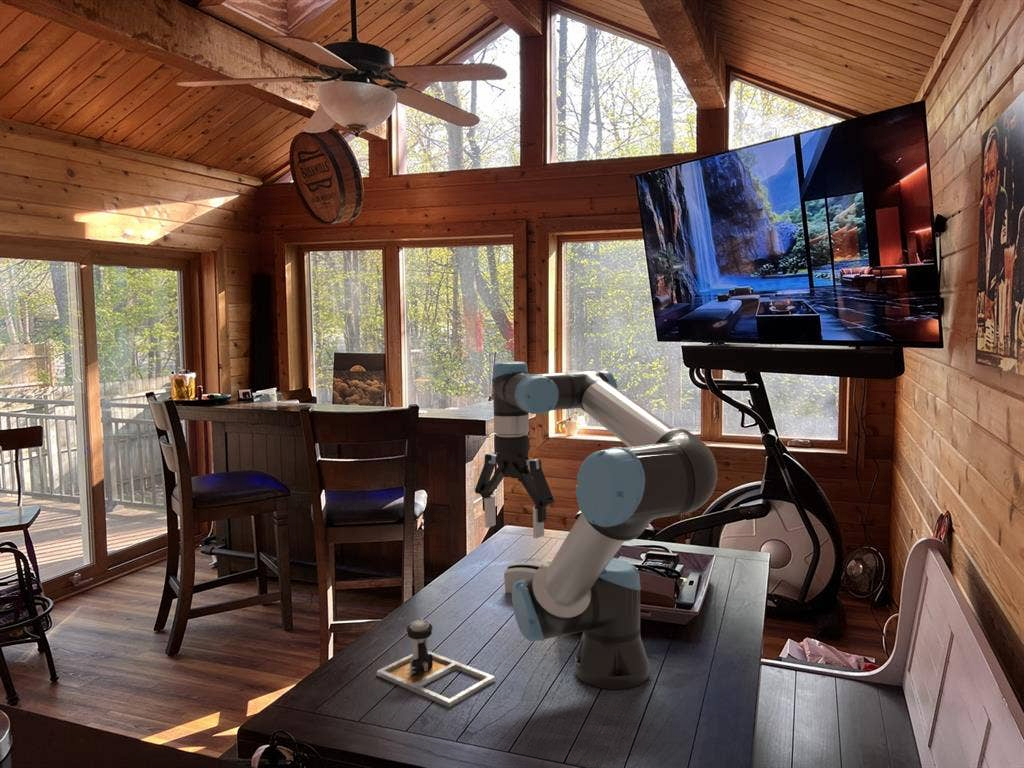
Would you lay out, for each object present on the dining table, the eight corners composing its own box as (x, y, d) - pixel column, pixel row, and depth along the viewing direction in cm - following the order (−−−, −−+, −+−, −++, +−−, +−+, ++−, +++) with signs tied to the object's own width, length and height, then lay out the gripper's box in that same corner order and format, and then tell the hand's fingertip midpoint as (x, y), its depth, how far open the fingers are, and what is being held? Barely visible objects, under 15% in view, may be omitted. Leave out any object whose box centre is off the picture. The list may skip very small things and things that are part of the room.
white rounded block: (570, 594, 200) (564, 563, 196) (563, 606, 196) (558, 575, 192) (512, 585, 207) (506, 555, 203) (505, 597, 203) (498, 566, 200)
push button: (417, 680, 155) (416, 632, 154) (398, 673, 158) (396, 627, 157) (439, 667, 160) (437, 621, 159) (419, 661, 163) (418, 616, 162)
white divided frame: (495, 681, 154) (494, 676, 154) (449, 707, 144) (449, 702, 144) (423, 653, 168) (422, 648, 168) (376, 675, 158) (376, 670, 158)
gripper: (569, 436, 158) (571, 537, 160) (480, 427, 174) (482, 518, 176) (547, 442, 153) (549, 545, 155) (457, 431, 169) (460, 525, 171)
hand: (514, 531), depth 165 cm, fingers open, 13 cm apart
